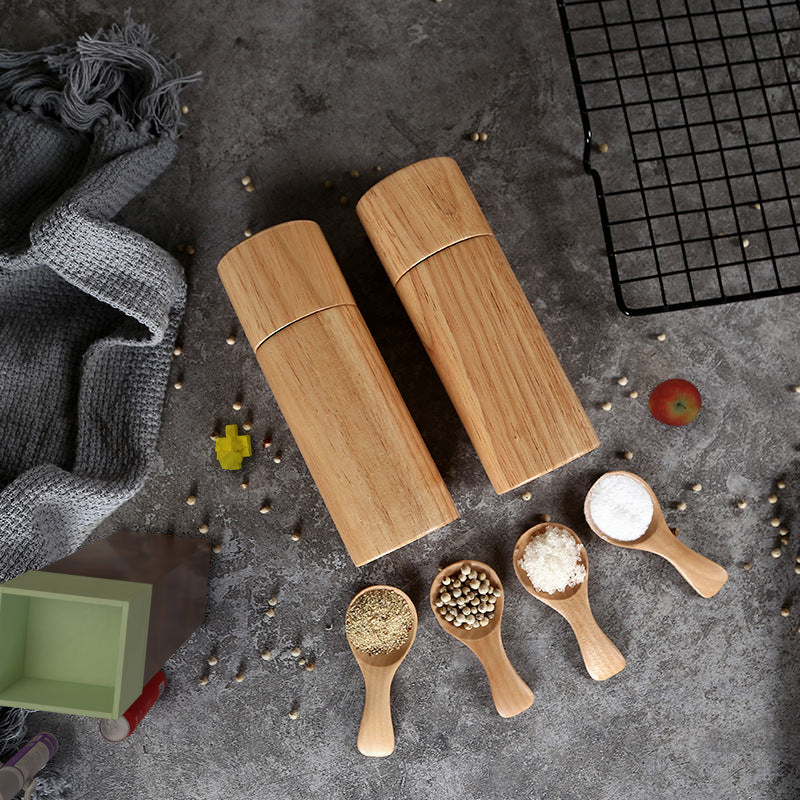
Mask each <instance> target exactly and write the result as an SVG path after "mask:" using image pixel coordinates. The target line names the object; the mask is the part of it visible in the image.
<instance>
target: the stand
mask: <svg viewBox="0 0 800 800" xmlns="http://www.w3.org/2000/svg"><path fill="white" fill-rule="evenodd" d="M212 546H213V540H212V539H205V538H196V537H189V536H188V537H187V536H179V535H170V534H161V533H152V532H145V531H144V532H143V531H136V530H128V529H127V530H126V529H120V530H117V531H116V532H114V533H112V534H109V535H108V536H105V537H103V538H101V539H99V540H97V541H94V542H93V543H91V544H89V545H86V546H84V547H83V548H80V549H78V550H76V551H74V552H72V553H70V554H68V555H66V556H63V557H61V558H60V559H58V560H55V561H53V562H51V563H49V564H47V565H45V566H43V567H41V568H39V569H36V571H42V572H50V573H59V574H67V575H76V576H85V577H93V578H102V579H110V580H119V581H127V582H136V583H145V584H152V595H151V605H150V616H149V626H148V636H147V647H146V657H145V667H144V677H143V687H144V686H145V685H146V684H147V683H148V682H149V681H150V679H151V678H152V677H153V676H154V675H155V674H156V673H157V672H158V671H159V670H161V669H162V668H163V666H164V665H166V663H167V662H168V661H169V660H170V659H171V658H172V657H173V656H174V654H176V653H177V652H178V650H179V649H180V648H181V647H182V646H183V645H184V644H185V642H187V640H188V639H189V638H190V637H191V636H192V635H193V634H195V632H196V631H197V629H199V627H201V625H202V624H203V623H204V622H205V618H206V608H207V607H206V606H207V596H208V588H209V577H210V567H211V557H212V548H213V547H212Z"/></svg>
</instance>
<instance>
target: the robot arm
mask: <svg viewBox="0 0 800 800" xmlns="http://www.w3.org/2000/svg"><path fill="white" fill-rule="evenodd" d="M5 764H6V763H3V762H2V761H0V769H1V768H2V767H3V766H4V765H5ZM38 783H39V781H38V780H37V779H35V778H34V777H33V778H31V777H29V778H28V779H27V780H26V783H24V785H23V787H22V789H21V790H22V791H24V797H23V800H31V796H32V792H33V791H34V790H35V788H36V787H37V785H38Z"/></svg>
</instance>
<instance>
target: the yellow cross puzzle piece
mask: <svg viewBox="0 0 800 800" xmlns="http://www.w3.org/2000/svg"><path fill="white" fill-rule="evenodd" d="M224 430H225V436H223V437H216V438H215V448H214V451H215V452H216V460H217V461H218V462H219V464H220V467H221V469H222V470H229V471H233V470H240V469H242V462H243V460H244V458H246V457H252V456H253V452H252V451H253V450H252V442H251V435H250V434H245V435H244V434H243V435H239V429H238V424H226V425H225V429H224Z"/></svg>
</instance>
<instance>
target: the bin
mask: <svg viewBox="0 0 800 800" xmlns="http://www.w3.org/2000/svg"><path fill="white" fill-rule="evenodd" d="M151 595H152V584H145V583H136V582H127V581H119V580H110V579H102V578H93V577H85V576H76V575H67V574H59V573H50V572H42V571H37V570H31V569H30V570H28V571H26V572H24V573H21V574H19V575H17V576H16V577H13V578H11V579H9V580H7V581H5V582H3V583H0V706H1V707H10V708H16V709H17V708H18V709H25V710H33V711H41V712H49V713H50V712H51V713H58V714H66V715H75V716H81V717H91V718H99V719H101V718H106V719H114V720H118V719H119V718H120V717H121V716H122V715H123V713H124V712H125V711H126V710H127V709H128V708H129V707H130V706H131V705H132V704H133V702H134V701H135V700H136V699H137V698H138V697H139V696H140V695H141V694H142V688H143V677H144V667H145V657H146V647H147V636H148V626H149V616H150V605H151Z"/></svg>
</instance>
